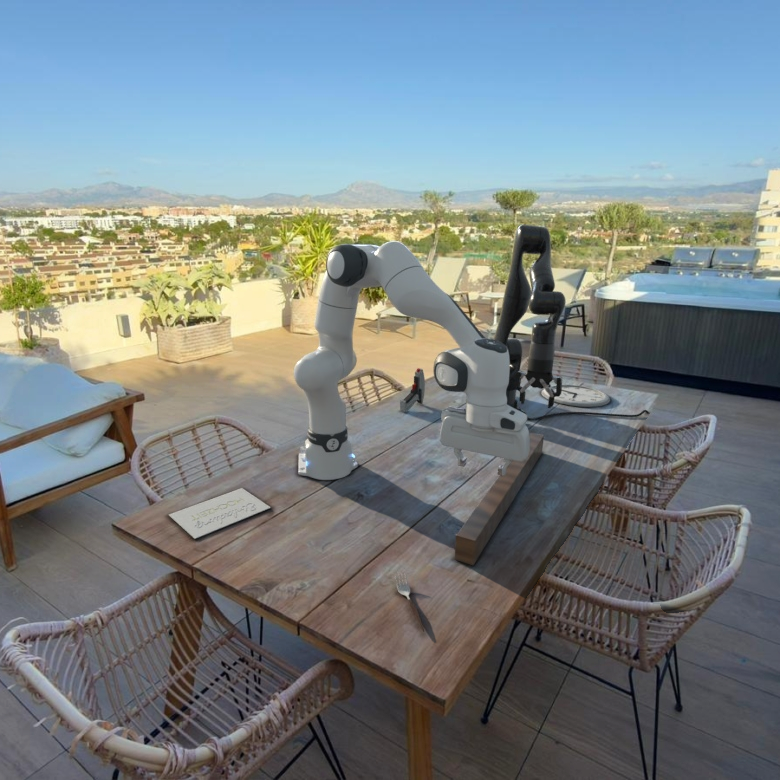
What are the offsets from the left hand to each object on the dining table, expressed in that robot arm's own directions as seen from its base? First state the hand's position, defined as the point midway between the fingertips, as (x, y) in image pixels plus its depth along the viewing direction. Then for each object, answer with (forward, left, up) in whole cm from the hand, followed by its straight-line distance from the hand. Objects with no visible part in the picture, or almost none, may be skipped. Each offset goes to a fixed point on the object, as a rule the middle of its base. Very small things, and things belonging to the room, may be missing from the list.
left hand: (481, 469), depth 120 cm
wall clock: (-89, +102, -20) cm, 137 cm away
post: (-19, +21, -20) cm, 35 cm away
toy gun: (-98, +24, -20) cm, 103 cm away
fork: (+14, -23, -20) cm, 34 cm away
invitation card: (-36, -57, -20) cm, 70 cm away
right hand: (-37, +41, -1) cm, 56 cm away
